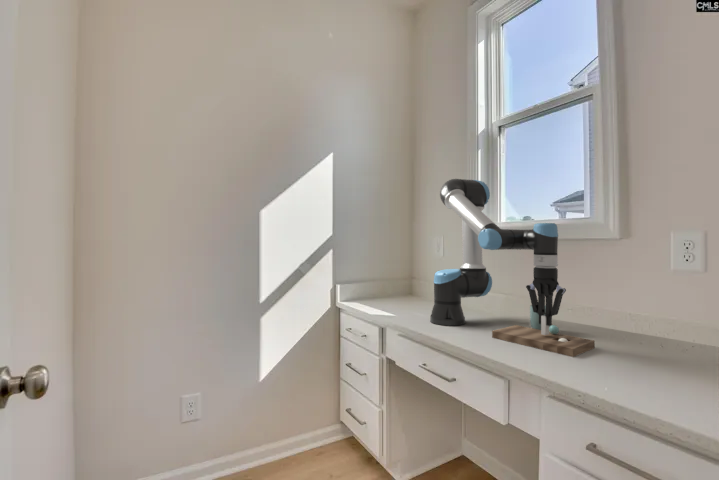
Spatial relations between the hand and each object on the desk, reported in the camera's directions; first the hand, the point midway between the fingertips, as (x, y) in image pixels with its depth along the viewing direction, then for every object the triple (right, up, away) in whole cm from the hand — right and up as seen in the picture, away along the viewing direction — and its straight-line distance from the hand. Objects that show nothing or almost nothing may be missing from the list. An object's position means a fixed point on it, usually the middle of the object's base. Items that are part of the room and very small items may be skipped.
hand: (545, 334), depth 124 cm
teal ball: (+5, +1, +3) cm, 5 cm away
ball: (+3, -2, -5) cm, 6 cm away
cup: (+7, -4, +17) cm, 19 cm away
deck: (-1, -3, +1) cm, 4 cm away
